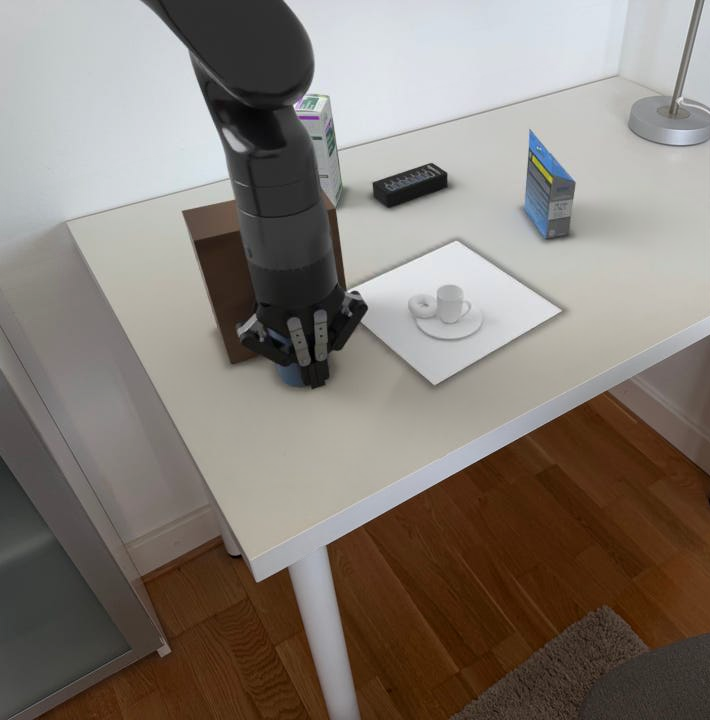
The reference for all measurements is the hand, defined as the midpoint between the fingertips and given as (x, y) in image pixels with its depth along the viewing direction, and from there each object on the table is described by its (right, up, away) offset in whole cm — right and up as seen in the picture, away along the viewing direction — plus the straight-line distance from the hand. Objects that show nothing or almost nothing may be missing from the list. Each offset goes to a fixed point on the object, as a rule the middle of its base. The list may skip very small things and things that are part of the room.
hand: (315, 382), depth 72 cm
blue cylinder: (-4, +4, +5) cm, 7 cm away
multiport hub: (+7, +28, +32) cm, 43 cm away
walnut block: (-5, +6, +8) cm, 11 cm away
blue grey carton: (+27, +22, +27) cm, 44 cm away
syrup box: (-7, +26, +30) cm, 41 cm away
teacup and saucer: (+13, +9, +12) cm, 20 cm away
